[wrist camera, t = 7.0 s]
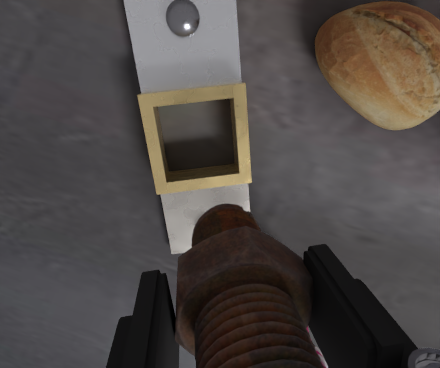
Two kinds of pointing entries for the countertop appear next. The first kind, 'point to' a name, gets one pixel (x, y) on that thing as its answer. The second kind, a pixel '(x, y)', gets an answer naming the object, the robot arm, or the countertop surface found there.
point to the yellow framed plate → (190, 100)
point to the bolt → (243, 296)
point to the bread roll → (383, 62)
